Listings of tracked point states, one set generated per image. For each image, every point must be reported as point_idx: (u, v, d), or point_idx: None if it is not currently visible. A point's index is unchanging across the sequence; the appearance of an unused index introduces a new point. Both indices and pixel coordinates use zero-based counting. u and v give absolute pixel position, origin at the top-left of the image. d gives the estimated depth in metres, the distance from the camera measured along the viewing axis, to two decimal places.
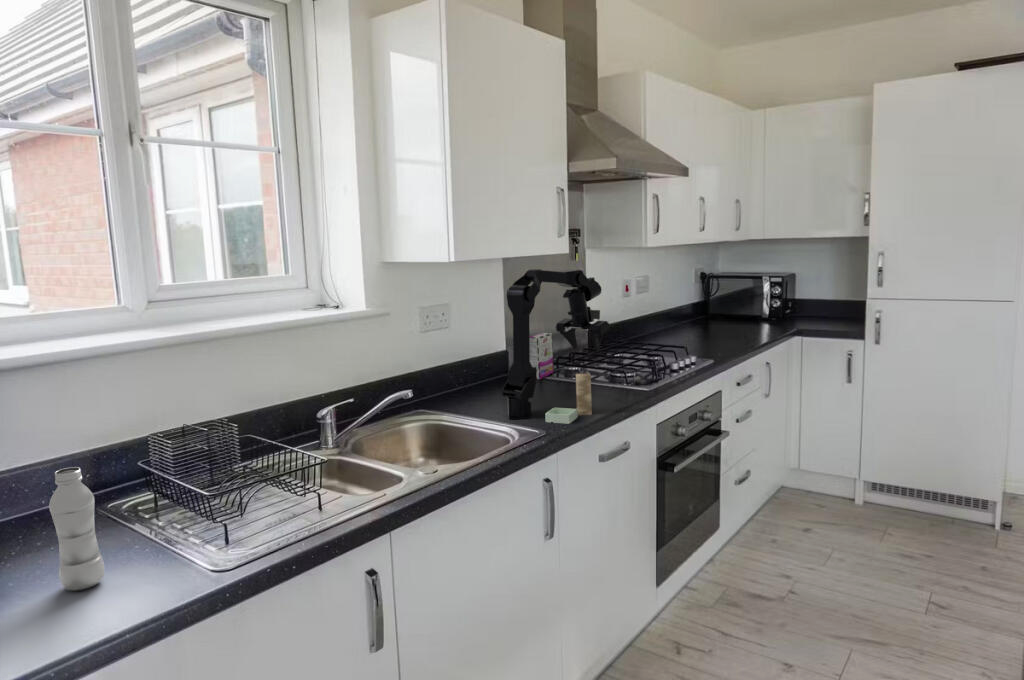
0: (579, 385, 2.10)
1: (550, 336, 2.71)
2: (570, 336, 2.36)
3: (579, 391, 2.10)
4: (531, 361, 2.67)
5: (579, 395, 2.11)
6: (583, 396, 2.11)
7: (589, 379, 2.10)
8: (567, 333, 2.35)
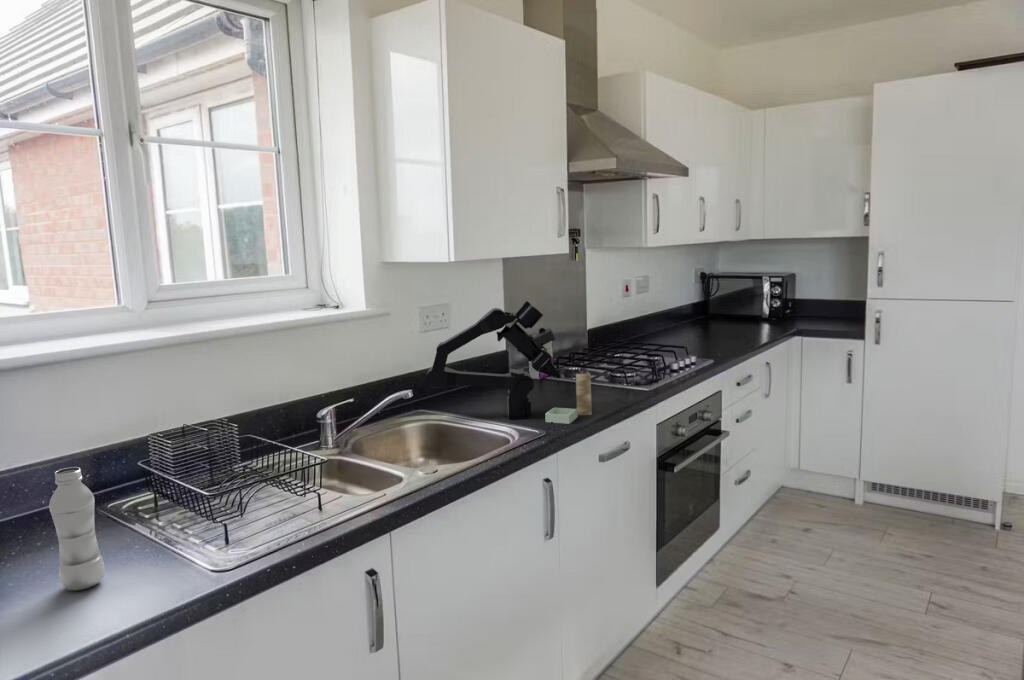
0: (579, 385, 2.10)
1: None
2: None
3: (579, 391, 2.10)
4: None
5: (579, 395, 2.11)
6: (583, 396, 2.11)
7: (589, 379, 2.10)
8: None
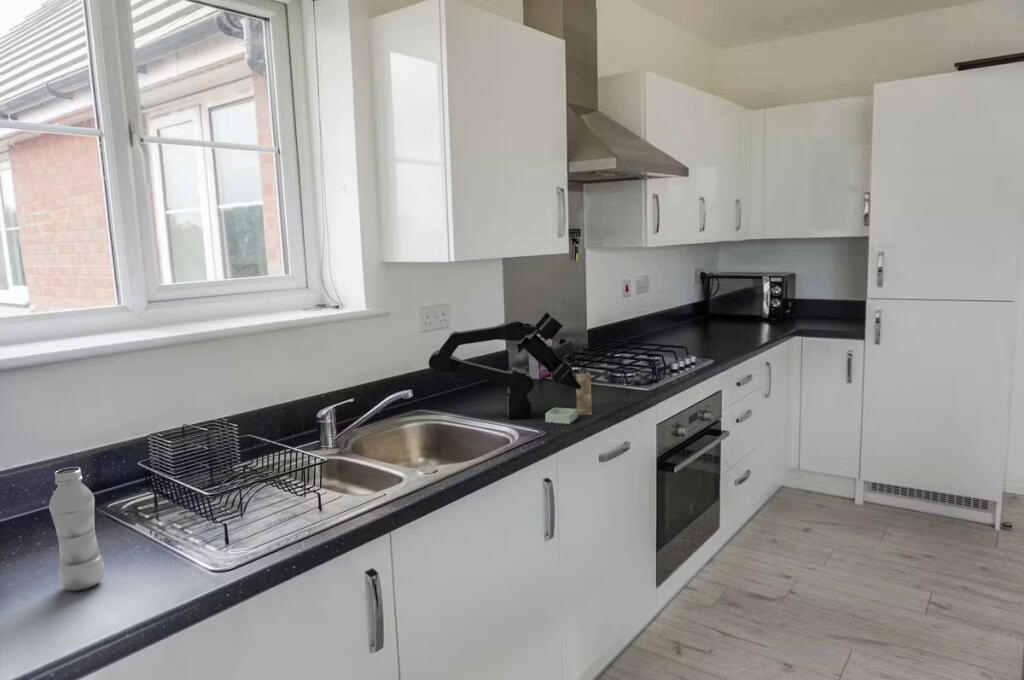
0: None
1: None
2: None
3: (579, 391, 2.10)
4: (531, 361, 2.67)
5: (579, 395, 2.11)
6: (583, 396, 2.11)
7: (589, 379, 2.10)
8: None
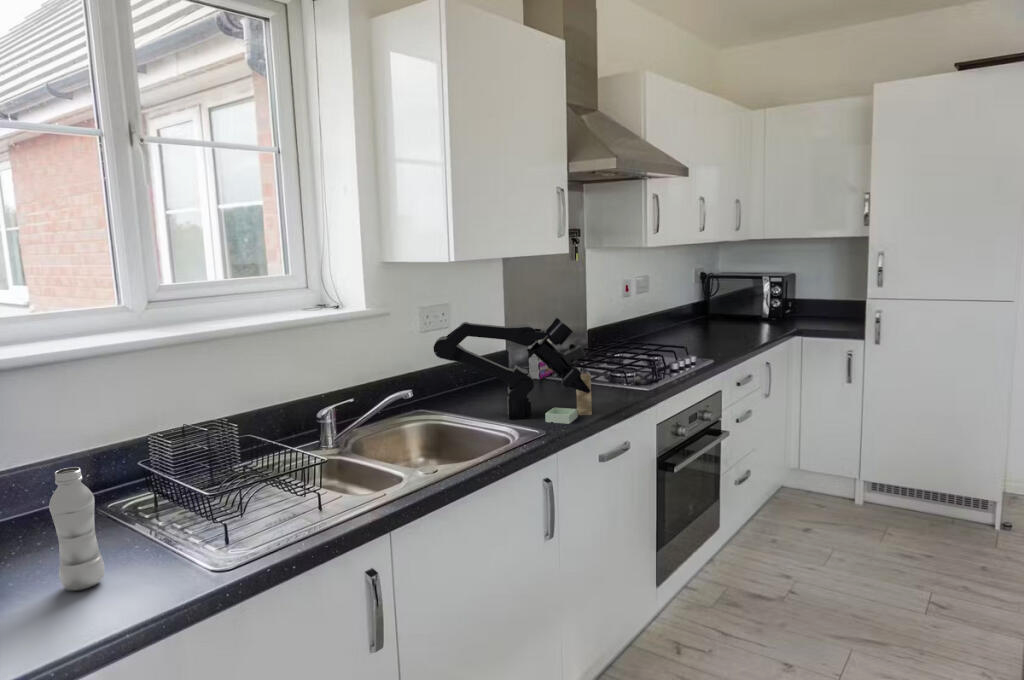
0: None
1: None
2: None
3: (579, 391, 2.10)
4: (531, 361, 2.67)
5: (579, 395, 2.11)
6: (583, 396, 2.11)
7: (589, 379, 2.10)
8: None
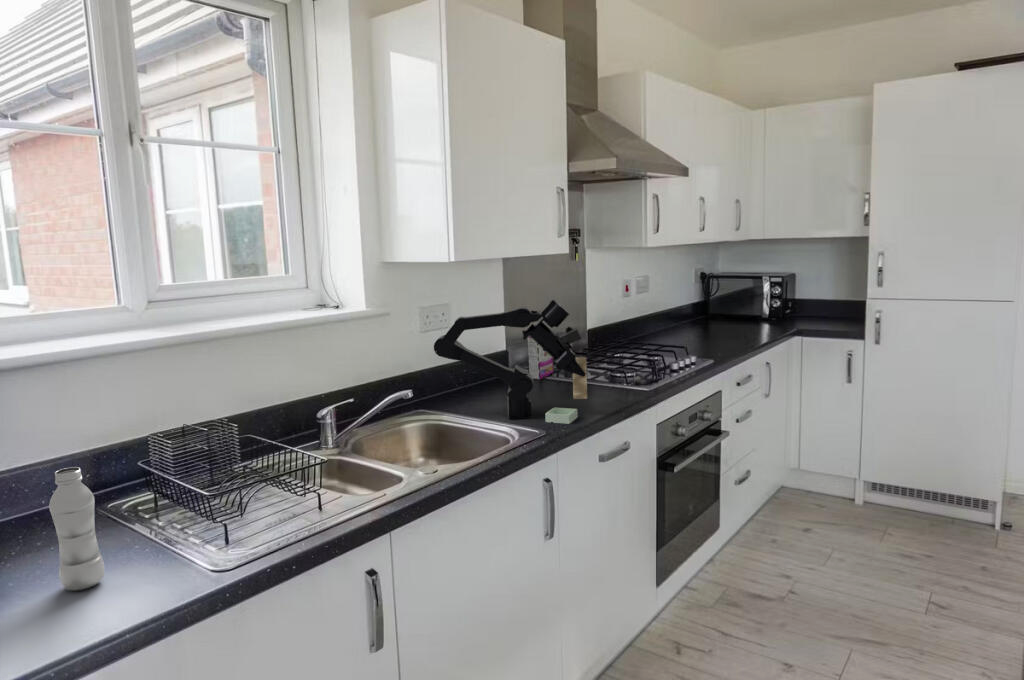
0: None
1: None
2: None
3: (574, 374, 2.08)
4: (531, 361, 2.67)
5: (574, 378, 2.08)
6: (578, 380, 2.08)
7: (585, 362, 2.07)
8: None
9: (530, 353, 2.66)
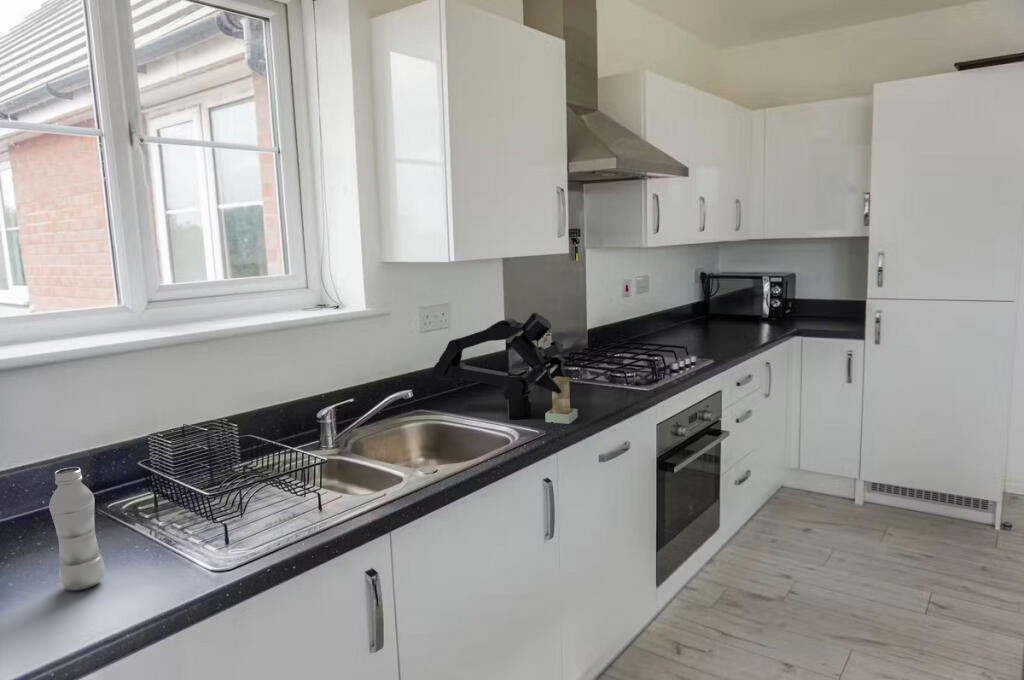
0: None
1: (550, 336, 2.71)
2: None
3: (553, 394, 2.05)
4: None
5: (553, 398, 2.05)
6: (557, 400, 2.05)
7: (563, 383, 2.03)
8: (550, 375, 2.11)
9: None
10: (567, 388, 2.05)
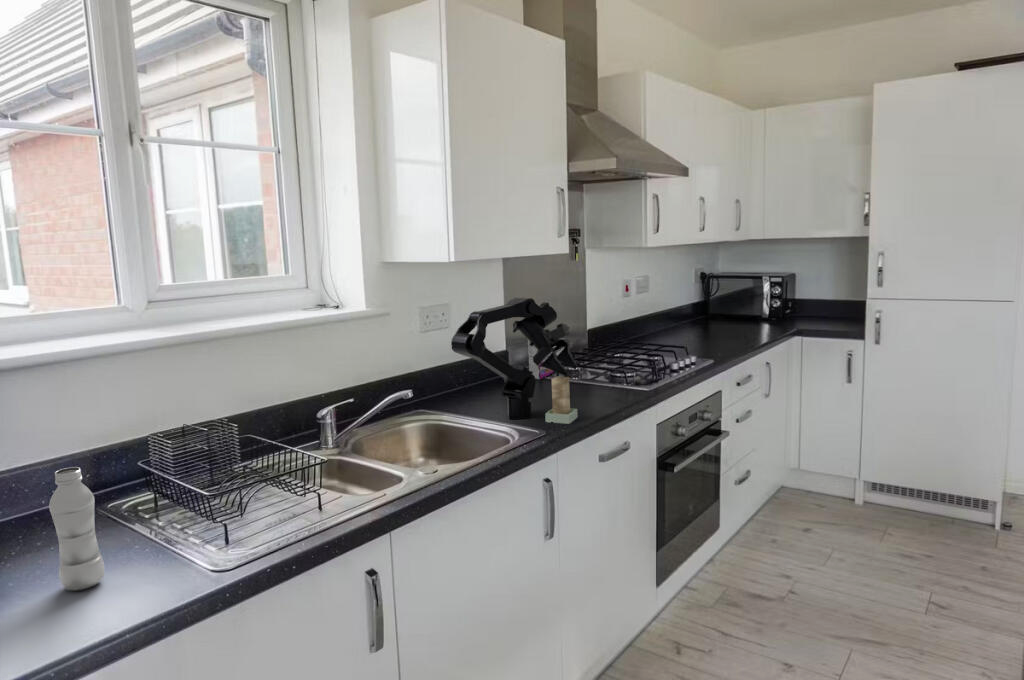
0: (553, 388, 2.05)
1: None
2: (562, 359, 2.16)
3: (553, 394, 2.05)
4: (531, 361, 2.67)
5: (553, 398, 2.05)
6: (557, 400, 2.05)
7: (563, 383, 2.03)
8: (557, 357, 2.17)
9: (530, 353, 2.66)
10: (567, 388, 2.05)
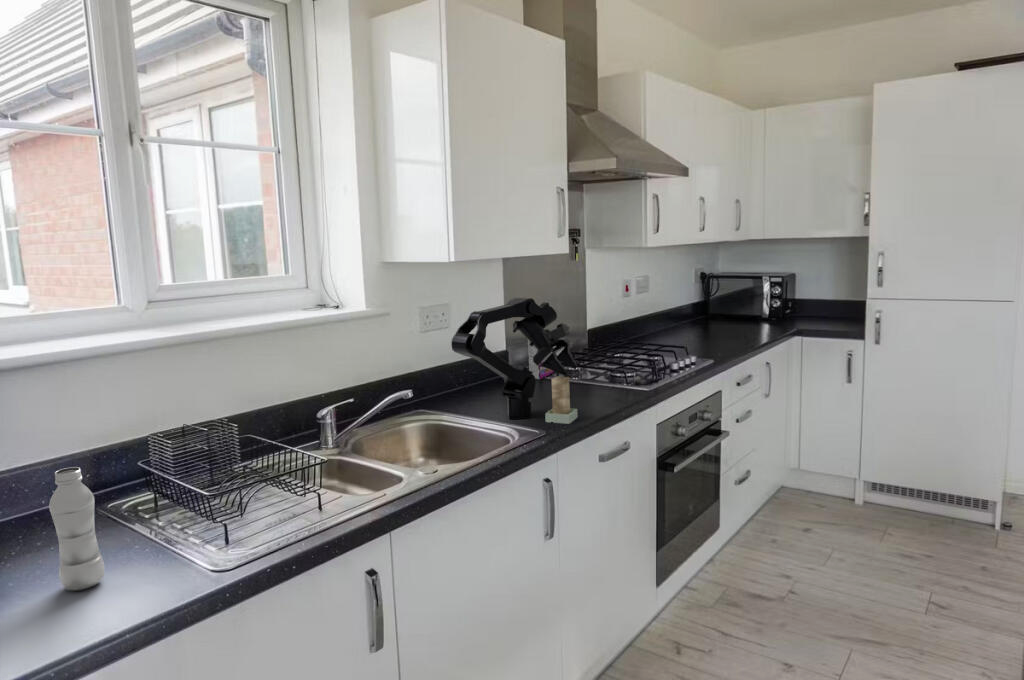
0: (553, 388, 2.05)
1: None
2: (562, 359, 2.16)
3: (553, 394, 2.05)
4: (531, 361, 2.67)
5: (553, 398, 2.05)
6: (557, 400, 2.05)
7: (563, 383, 2.03)
8: (557, 357, 2.17)
9: (530, 353, 2.66)
10: (567, 388, 2.05)
